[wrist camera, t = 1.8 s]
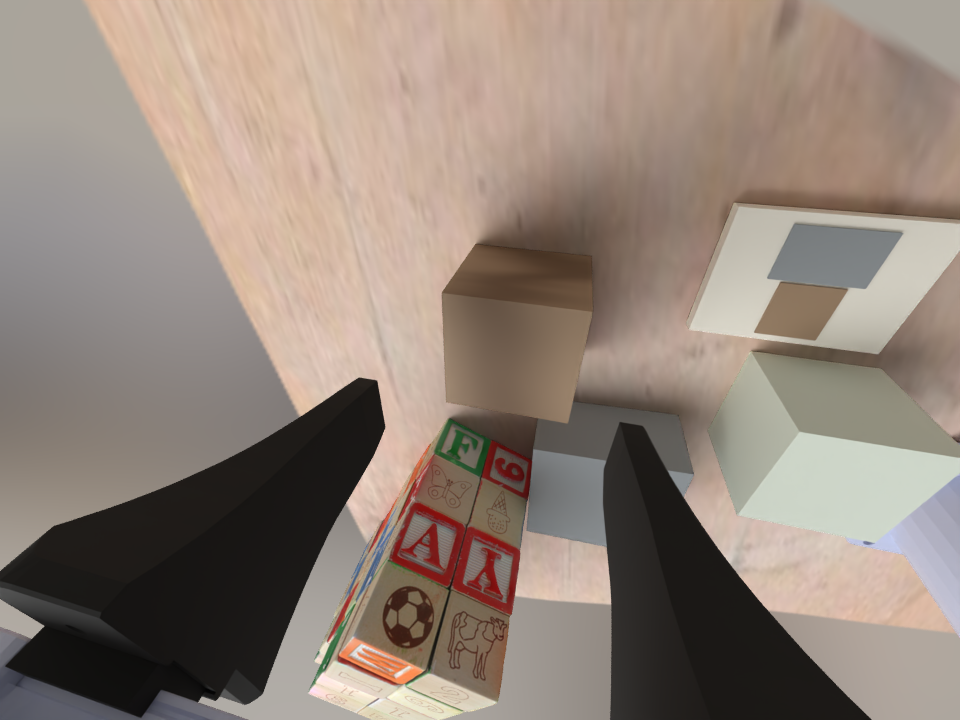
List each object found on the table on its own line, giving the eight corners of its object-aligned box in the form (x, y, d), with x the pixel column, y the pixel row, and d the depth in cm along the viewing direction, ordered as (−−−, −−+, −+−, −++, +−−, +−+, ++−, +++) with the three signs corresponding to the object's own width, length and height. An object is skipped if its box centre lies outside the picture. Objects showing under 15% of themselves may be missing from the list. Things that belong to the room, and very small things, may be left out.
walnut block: (591, 255, 16) (592, 311, 12) (572, 352, 19) (567, 423, 15) (475, 243, 17) (441, 292, 13) (474, 338, 20) (446, 402, 16)
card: (964, 220, 13) (982, 226, 12) (869, 345, 16) (879, 355, 15) (733, 202, 14) (739, 207, 13) (685, 322, 17) (689, 331, 16)
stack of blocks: (424, 572, 37) (366, 746, 27) (365, 545, 37) (285, 712, 27) (535, 458, 24) (500, 711, 14) (447, 413, 24) (349, 645, 14)
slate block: (677, 412, 20) (693, 474, 17) (646, 493, 24) (655, 556, 21) (541, 394, 21) (533, 449, 18) (534, 474, 25) (526, 530, 22)
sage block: (879, 367, 16) (975, 460, 12) (815, 447, 19) (874, 542, 15) (749, 350, 17) (799, 431, 13) (707, 429, 20) (737, 515, 16)
